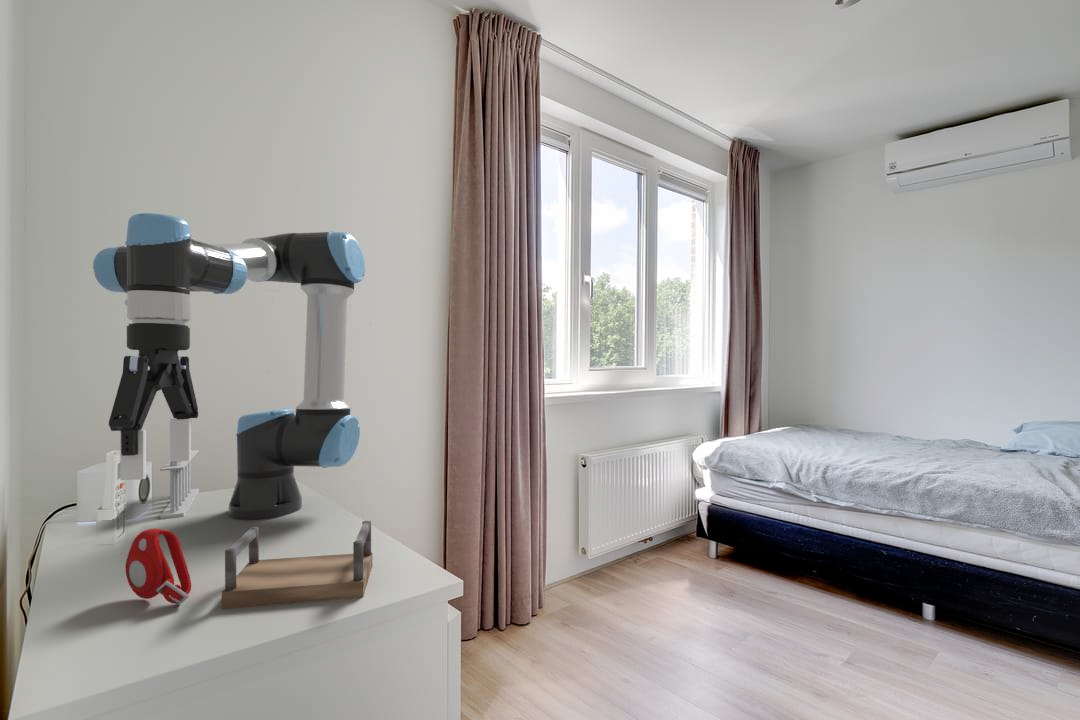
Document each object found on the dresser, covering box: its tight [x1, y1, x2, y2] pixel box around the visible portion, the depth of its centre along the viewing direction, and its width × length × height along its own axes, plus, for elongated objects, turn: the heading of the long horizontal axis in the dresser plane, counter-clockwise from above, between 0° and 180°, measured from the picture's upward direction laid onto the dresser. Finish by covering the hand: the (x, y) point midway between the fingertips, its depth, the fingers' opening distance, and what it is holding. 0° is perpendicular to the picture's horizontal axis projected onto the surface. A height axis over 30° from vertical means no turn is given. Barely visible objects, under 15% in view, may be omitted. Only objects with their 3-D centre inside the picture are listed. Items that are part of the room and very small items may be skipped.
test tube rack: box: [159, 449, 200, 520], centre depth 131 cm, size 25×4×13 cm, turn 26°
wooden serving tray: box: [221, 520, 373, 610], centre depth 84 cm, size 12×19×8 cm, turn 101°
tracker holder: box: [125, 528, 192, 606], centre depth 79 cm, size 12×4×10 cm, turn 68°
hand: (158, 469), depth 79 cm, fingers open, 13 cm apart
